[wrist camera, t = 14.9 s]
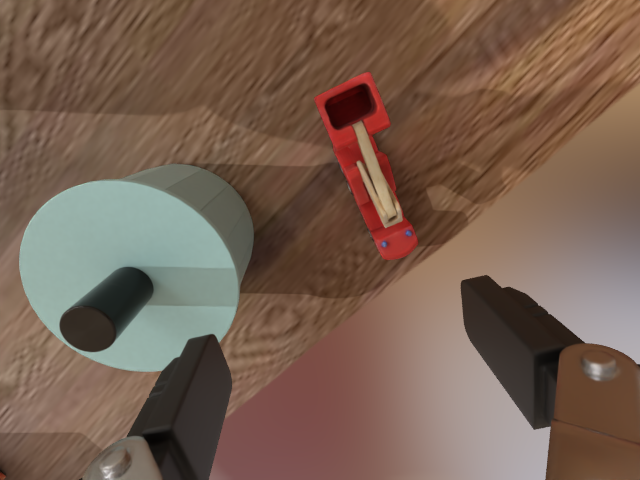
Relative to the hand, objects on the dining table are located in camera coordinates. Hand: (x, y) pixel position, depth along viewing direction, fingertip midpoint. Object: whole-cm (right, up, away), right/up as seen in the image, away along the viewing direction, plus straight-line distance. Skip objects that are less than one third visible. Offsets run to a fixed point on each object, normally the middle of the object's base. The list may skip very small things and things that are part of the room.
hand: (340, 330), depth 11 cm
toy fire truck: (+3, +8, +18) cm, 20 cm away
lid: (-12, 0, +10) cm, 16 cm away
